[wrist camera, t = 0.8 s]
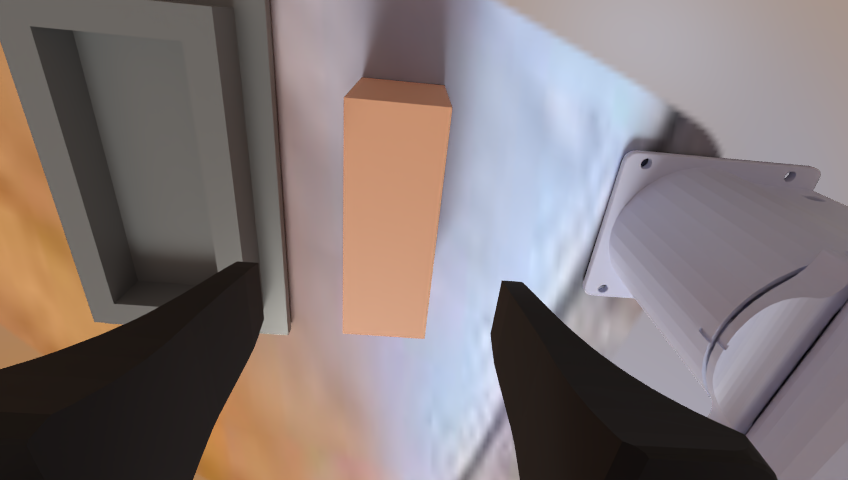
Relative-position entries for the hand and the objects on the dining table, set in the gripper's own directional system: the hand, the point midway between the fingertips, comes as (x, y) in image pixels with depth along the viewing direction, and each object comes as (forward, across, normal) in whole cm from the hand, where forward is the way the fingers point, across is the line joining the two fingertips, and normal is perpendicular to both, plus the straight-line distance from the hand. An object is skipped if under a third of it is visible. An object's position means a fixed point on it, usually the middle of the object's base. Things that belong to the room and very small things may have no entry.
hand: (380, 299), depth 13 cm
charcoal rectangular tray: (+9, +10, 0) cm, 14 cm away
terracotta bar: (+9, 0, 0) cm, 9 cm away
